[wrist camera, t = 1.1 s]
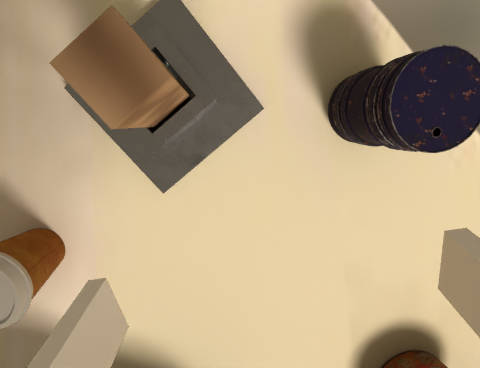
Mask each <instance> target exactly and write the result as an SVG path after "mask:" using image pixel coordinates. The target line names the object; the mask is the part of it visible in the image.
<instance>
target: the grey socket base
mask: <svg viewBox="0 0 480 368" xmlns="http://www.w3.org/2000/svg"><path fill="white" fill-rule="evenodd" d="M131 27H132V29H133V30H134V31H135V32H136V33H137V34H138V35H139V36H140V38H141V39H142V40H143V41H144V42H145V43H146V44H147V46H148V47H149V48H150V49H151V50H152V51H153V52H154V53H155V55H156V56H157V57H158V58H159V59H160V60H161V61H162V63H165V65H166V66H167V67H168V68H169V69H170V71H171V72H172V73H173V74H174V75H175V77H176V78H177V79H178V80H179V82H180V83H181V84H182V85H183V86H184V88H185V89H186V90H187V91H188V92H189V94H190V95H191V96H192V97H193V99H192V100H191V101H189V102H188V103H187V104H186V105H185V106H184V107H183V108H181V109H180V110H179V111H178V112H177V113H176V114H174V115H173V116H172V117H171V118H170V119H169V120H168V121H166V122H165V123H164V124H163V125H162V126H161V127H142V128H125V129H111V128H110V127H109V126H108V125H107V124H106V123H105V122H104V121H103V120H102V119H101V118H100V117H99V116H98V114H97V113H96V112H95V111H94V110H93V109H92V108H91V107H90V106H89V105H88V104H87V103H86V102H85V101H84V99H83V98H82V97H81V96H80V95H79V94H78V93H77V92H76V91H75V90H74V89H73V88H72V87H71V85H70V84H68V85H67V86H65V87H64V88H65V89H66V90H67V91H68V92H69V93H70V94H71V96H72V97H73V98H74V99H75V100H76V101H77V102H78V103H79V104H80V105H81V106H82V107H83V108H84V109H85V110H86V112H87V113H88V114H89V115H90V116H91V117H92V118H93V119H94V120H95V121H96V122H97V123H98V124H99V125H100V126H101V128H102V129H103V130H104V131H105V132H106V133H107V134H108V135H109V136H110V137H111V138H112V139H113V140H114V141H115V142H116V144H117V145H118V146H119V147H120V148H121V149H122V150H123V151H124V152H125V153H126V154H127V155H128V156H129V157H130V158H131V160H132V161H133V162H134V163H135V164H136V165H137V166H138V167H139V168H140V169H141V170H142V171H143V172H144V173H145V174H146V176H147V177H148V178H149V179H150V180H151V181H152V182H153V183H154V184H155V185H156V186H157V187H158V188H159V189H160V190H161V192H162V193H165V192H166V191H167V190H168V189H169V188H171V187H172V186H173V185H174V184H175V183H176V182H178V181H179V180H180V179H181V178H182V177H184V176H185V175H186V174H187V173H188V172H190V171H191V170H192V169H193V168H194V167H195V166H197V165H198V164H199V163H200V162H201V161H203V160H204V159H205V158H206V157H207V156H208V155H210V154H211V153H212V152H213V151H214V150H216V149H217V148H218V147H219V146H220V145H221V144H223V143H224V142H225V141H226V140H227V139H229V138H230V137H231V136H232V135H233V134H234V133H236V132H237V131H238V130H239V129H240V128H242V127H243V126H244V125H245V124H246V123H247V122H249V121H250V120H251V119H252V118H253V117H255V116H256V115H257V114H258V113H259V112H261V111H262V110H263V109H264V108H263V106H262V105H261V104H260V102H259V101H258V100H257V99H256V97H255V96H254V95H253V93H252V92H251V91H250V90H249V88H248V87H247V86H246V84H245V83H244V82H243V80H242V79H241V78H240V77H239V75H238V74H237V73H236V71H235V70H234V69H233V67H232V66H231V65H230V64H229V62H228V61H227V60H226V58H225V57H224V56H223V55H222V53H221V52H220V51H219V49H218V48H217V47H216V45H215V44H214V43H213V42H212V40H211V39H210V38H209V36H208V35H207V34H206V33H205V31H204V30H203V29H202V27H201V26H200V25H199V23H198V22H197V21H196V20H195V18H194V17H193V16H192V14H191V13H190V12H189V11H188V9H187V8H186V7H185V5H184V4H183V3H182V1H181V0H160V1H159V2H158V3H157V4H156V5H155V6H154V7H152V8H151V9H150V10H149V11H148V12H147V13H146V14H145V15H144V16H142V17H141V18H140V19H139V20H138V21H137V22H136V23H135V24H134V25H133V26H131Z"/></svg>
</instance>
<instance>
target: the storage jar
mask: <svg viewBox="0 0 480 368" xmlns="http://www.w3.org/2000/svg"><path fill="white" fill-rule="evenodd" d="M328 116H329V121H330V124H331V126H332V128H333V130H334V131H335V132H336V133H337V135H339V136H340V137H341V138H343V139H344V140H347V141H349V142H354V143H358V144H362V145H368V146H385V147H388V148H390V149H395V150H403V151H414V152H417V151H420V152H426V153H438V152H444V151H447V150H450V149H452V148H455V147H457V146H458V145H460V144H461V143H463V142H464V141H465V140H467V139H468V138H469V137H470V136H471V135H472V134H473V133H474V131H475V130H476V129H477V127H478V126H479V124H480V61H479V60H478V59H477V58H476V57H475V56H474V55H473V54H472V53H470V52H469V51H467V50H466V49H463V48H461V47H457V46H454V45H441V46H436V47H432V48H429V49H426V50H423V51H419V52H414V53H411V54H408V55H405V56H403V57H399V58H396V59H394V60H392V61H390V62H388V63H387V64H386V65H383V66H374V67H371V68H368V69H366V70H363V71H361V72H359V73H356V74H355V75H352V76H350V77H348V78H346V79H345V80H343V81H342V82H341V83H340V84H339V85H338V86H337V87H336V88H335V90H334V92H333V93H332V95H331V98H330V101H329V105H328Z"/></svg>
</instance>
